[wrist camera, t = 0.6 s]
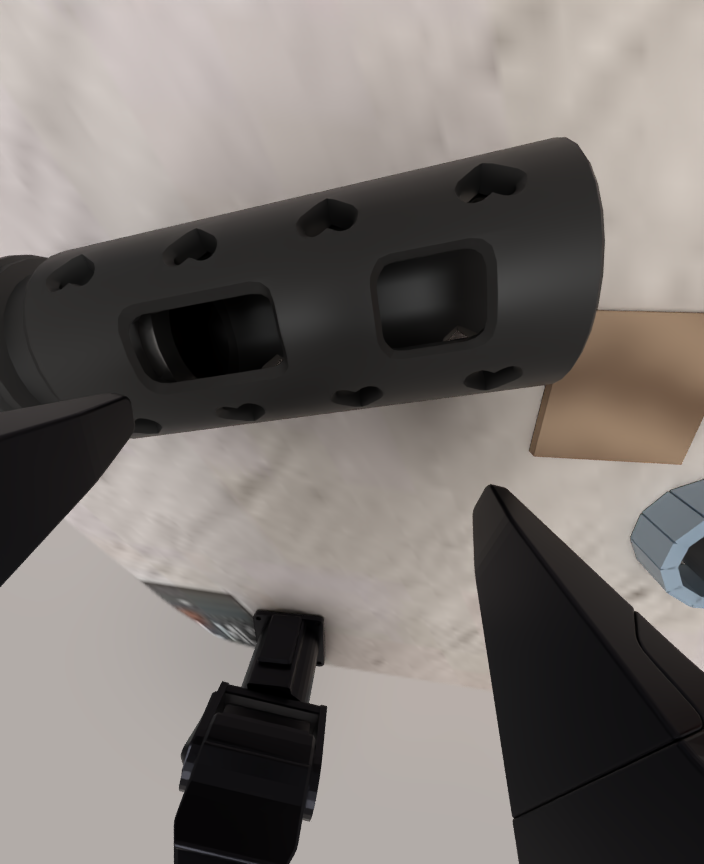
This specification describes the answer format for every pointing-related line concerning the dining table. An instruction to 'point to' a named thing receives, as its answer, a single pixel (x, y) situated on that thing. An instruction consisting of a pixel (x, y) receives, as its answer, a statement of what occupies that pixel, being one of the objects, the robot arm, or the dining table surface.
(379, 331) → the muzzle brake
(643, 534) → the collar
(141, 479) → the dining table surface
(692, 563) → the plug
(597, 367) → the mat
